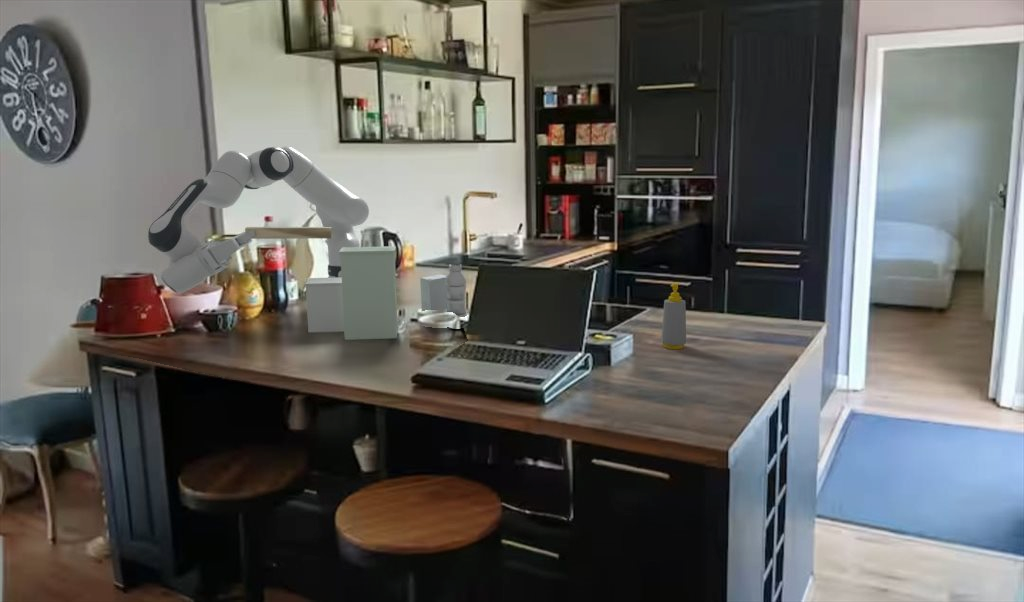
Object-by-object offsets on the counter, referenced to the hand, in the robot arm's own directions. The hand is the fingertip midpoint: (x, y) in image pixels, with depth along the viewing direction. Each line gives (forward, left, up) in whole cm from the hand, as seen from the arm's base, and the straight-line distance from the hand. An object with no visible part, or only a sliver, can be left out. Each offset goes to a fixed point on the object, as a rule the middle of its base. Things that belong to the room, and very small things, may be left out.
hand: (256, 231), depth 230 cm
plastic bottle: (-4, +57, -32) cm, 66 cm away
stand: (0, +31, -32) cm, 45 cm away
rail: (0, +9, -2) cm, 9 cm away
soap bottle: (+26, +116, -32) cm, 123 cm away
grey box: (-11, +18, -32) cm, 38 cm away
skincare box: (-15, +51, -32) cm, 62 cm away
